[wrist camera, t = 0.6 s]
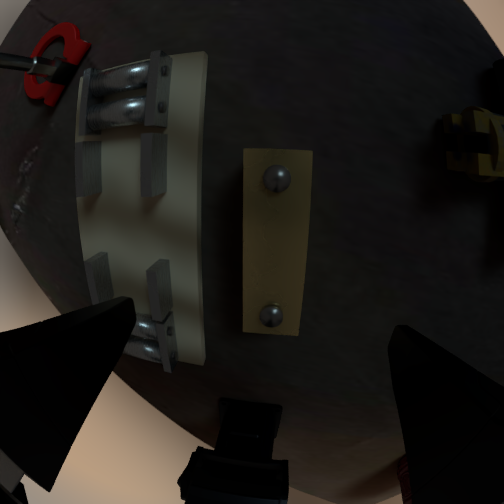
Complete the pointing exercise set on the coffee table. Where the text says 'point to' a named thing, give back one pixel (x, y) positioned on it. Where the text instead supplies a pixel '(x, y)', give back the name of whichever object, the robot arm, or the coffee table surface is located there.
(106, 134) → the board
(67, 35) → the gray post stand
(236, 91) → the coffee table surface
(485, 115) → the pipe connector
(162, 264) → the chain end
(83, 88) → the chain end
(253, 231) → the tapered knobbed panel
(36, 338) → the robot arm
